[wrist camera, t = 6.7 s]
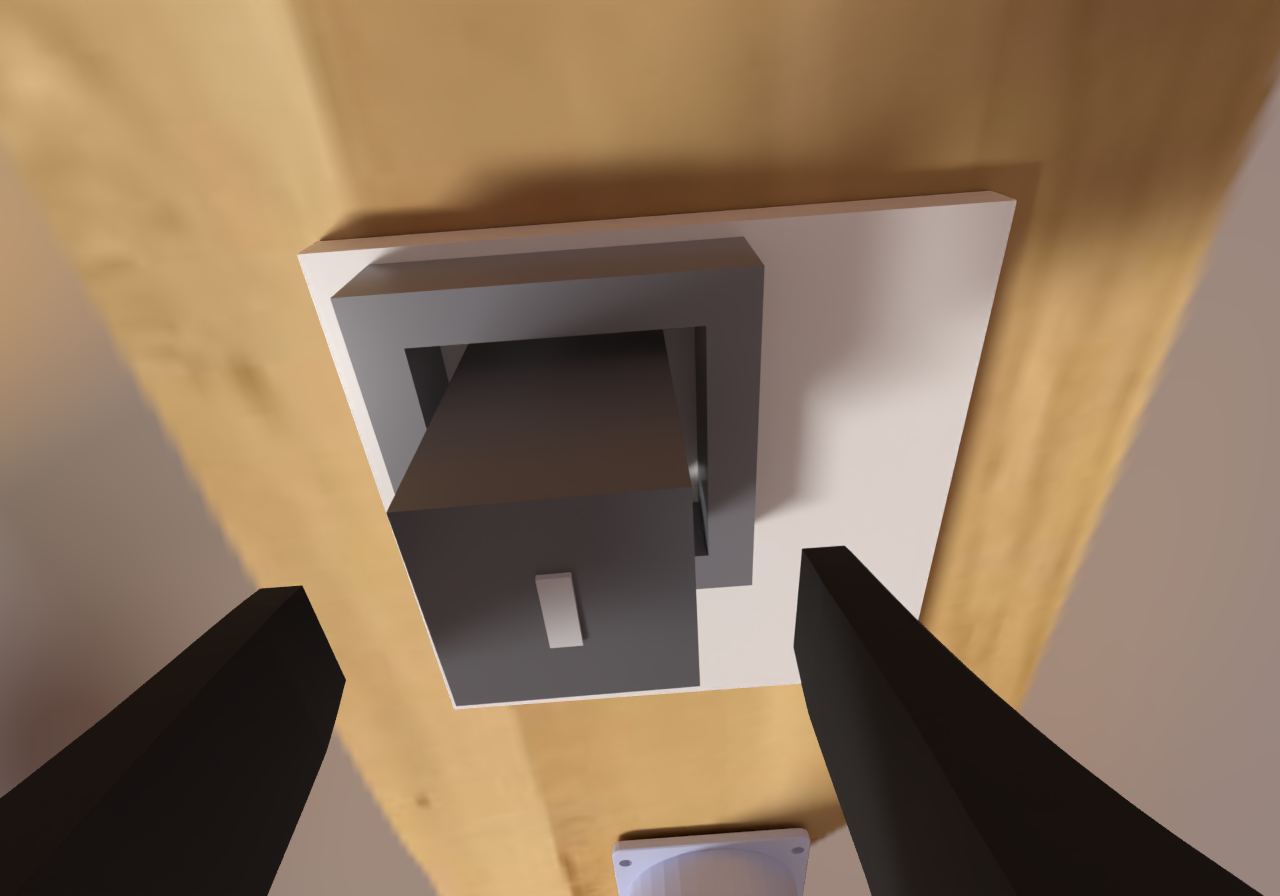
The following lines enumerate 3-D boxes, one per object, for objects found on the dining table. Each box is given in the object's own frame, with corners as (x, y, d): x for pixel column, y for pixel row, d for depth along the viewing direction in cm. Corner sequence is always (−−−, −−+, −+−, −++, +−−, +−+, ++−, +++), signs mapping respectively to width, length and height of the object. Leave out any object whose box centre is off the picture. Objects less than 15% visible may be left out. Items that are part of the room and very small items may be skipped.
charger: (670, 477, 16) (701, 691, 10) (506, 491, 16) (455, 711, 10) (661, 321, 13) (692, 491, 8) (471, 337, 13) (383, 516, 8)
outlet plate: (893, 649, 21) (932, 734, 18) (460, 682, 21) (439, 771, 18) (991, 190, 13) (1081, 224, 11) (317, 241, 13) (247, 286, 11)
